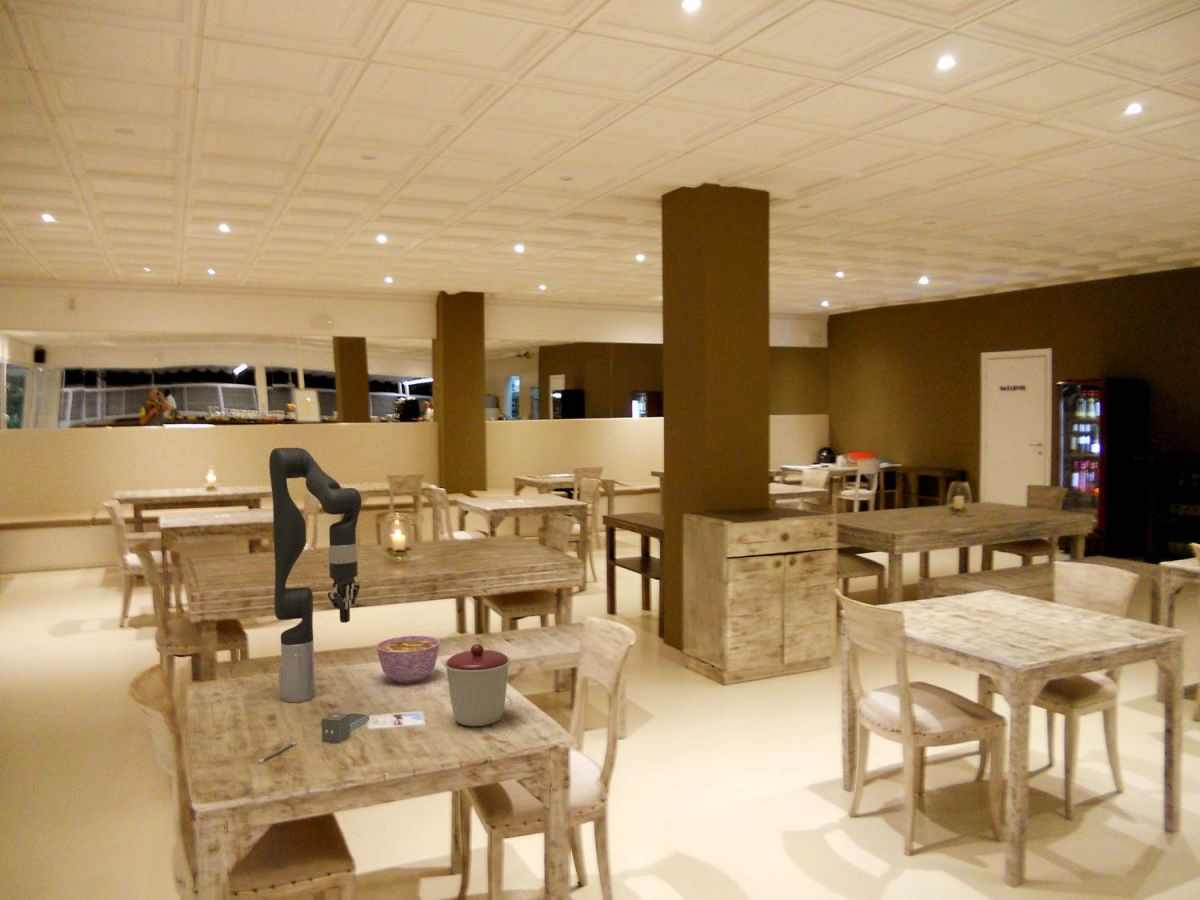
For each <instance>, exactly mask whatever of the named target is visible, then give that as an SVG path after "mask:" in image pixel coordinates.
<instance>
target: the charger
mask: <svg viewBox="0 0 1200 900" xmlns="http://www.w3.org/2000/svg"><path fill="white" fill-rule="evenodd" d="M349 736H350V737H351V732H350V721H349V713H343V712H342V713H341V712H331V713H329V714H328V715H326V716H324V717H322V718H321V740H322V743H333V744H341V743H342V742H344V741H345V740H347V739H348V738H349ZM346 738H347V739H346ZM343 740H344V741H343ZM340 742H341V743H340Z"/></svg>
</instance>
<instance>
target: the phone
mask: <svg viewBox="0 0 1200 900" xmlns="http://www.w3.org/2000/svg"><path fill="white" fill-rule="evenodd" d="M348 714H349V721H350V733H351V732H352V731H354V730H356V729H357V727H358V728H359V727H361V726H363V725H365V724H366V722H367V721H368V720H369V721H370V714H367V713H358V712H352V711H351V712H350V713H348ZM369 721H368V722H369ZM368 722H367V723H368ZM364 723H365V724H364ZM362 724H363V725H362ZM355 728H356V729H355Z"/></svg>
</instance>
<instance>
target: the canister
mask: <svg viewBox="0 0 1200 900" xmlns="http://www.w3.org/2000/svg"><path fill="white" fill-rule="evenodd" d="M511 661H512V660H511V658H510V657H509V656H508V655H506V654H504V653H503V652H500V651H496V650H491V649H484V645H482V644H478V643H475V644H473V645H472V646H471V647H470V650H468V651H462V652H458V653H456V654H454V655H452V656H451V657H449V658H447V659H446V660H445V661H444V662H443V666H444V667H445V669H446V672H447V681H448V688H449V695H450V702H451V709H452V715H453V717H454V719H455V720H456V722H458V724H461V725H462V726H463V725H464V726H467V727H485V726H489V725H492V724H495V723H497V722H499V720H500V719H501V718H502V716H503V715H504V711H505V705H506V703H505V702H506V698H507V697H506V696H507V685H508V674H509V673H508V672H509V669H508V668H509V665H510V663H511Z"/></svg>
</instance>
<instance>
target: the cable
mask: <svg viewBox="0 0 1200 900" xmlns="http://www.w3.org/2000/svg"><path fill="white" fill-rule="evenodd" d="M296 745H297V741H293V742H292V743H289V744H287V745H286V746H283V747H281V748H280V749H278V750H276V751H274V752H272V753H270V754H268V755H266V756H265V757H263V758H261V759H260V760H258V763H259V764H262V763H263V762H265V761H267V760H269V759H271V758H273V757H275V756H276V755H278V754H280V753H282V752H283V751H286V750H288V749H290V748H292V747H294V746H296Z"/></svg>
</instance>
